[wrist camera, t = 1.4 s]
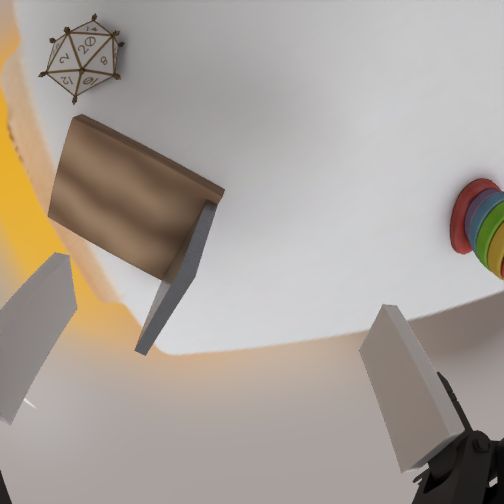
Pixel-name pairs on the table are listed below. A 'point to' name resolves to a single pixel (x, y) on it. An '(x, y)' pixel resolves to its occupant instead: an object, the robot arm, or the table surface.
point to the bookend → (177, 277)
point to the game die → (83, 57)
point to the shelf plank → (126, 196)
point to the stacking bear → (480, 224)
